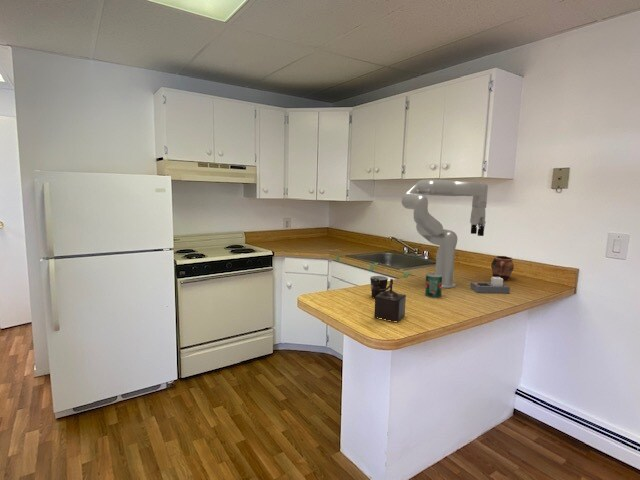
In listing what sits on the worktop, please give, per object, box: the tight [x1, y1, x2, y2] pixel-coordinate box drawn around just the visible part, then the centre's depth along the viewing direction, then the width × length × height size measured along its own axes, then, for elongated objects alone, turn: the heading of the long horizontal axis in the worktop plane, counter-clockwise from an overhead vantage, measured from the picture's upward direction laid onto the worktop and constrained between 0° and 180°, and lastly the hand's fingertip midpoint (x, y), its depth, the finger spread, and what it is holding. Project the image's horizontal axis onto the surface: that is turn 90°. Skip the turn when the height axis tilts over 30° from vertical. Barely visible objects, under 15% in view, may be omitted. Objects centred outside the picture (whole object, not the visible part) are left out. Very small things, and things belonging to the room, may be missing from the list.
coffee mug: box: [369, 275, 389, 299], centre depth 181 cm, size 12×9×10 cm
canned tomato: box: [424, 272, 442, 299], centre depth 184 cm, size 8×8×11 cm
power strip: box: [469, 281, 511, 295], centre depth 198 cm, size 17×16×4 cm
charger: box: [490, 276, 504, 286], centre depth 194 cm, size 4×4×7 cm
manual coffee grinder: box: [370, 278, 407, 322], centre depth 150 cm, size 16×11×18 cm
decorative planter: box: [490, 255, 514, 281], centre depth 219 cm, size 20×12×14 cm, turn 155°
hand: (476, 234), depth 208 cm, fingers open, 9 cm apart
